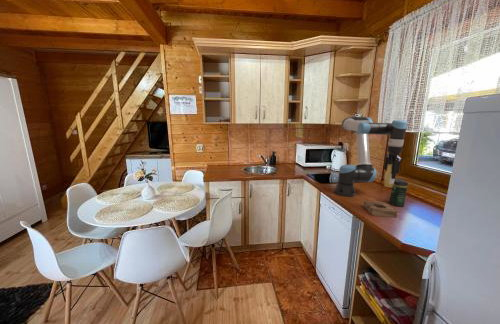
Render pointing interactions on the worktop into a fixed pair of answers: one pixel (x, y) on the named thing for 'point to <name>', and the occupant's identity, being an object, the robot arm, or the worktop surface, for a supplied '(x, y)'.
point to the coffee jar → (398, 192)
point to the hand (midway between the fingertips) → (388, 182)
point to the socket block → (380, 209)
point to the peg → (388, 176)
